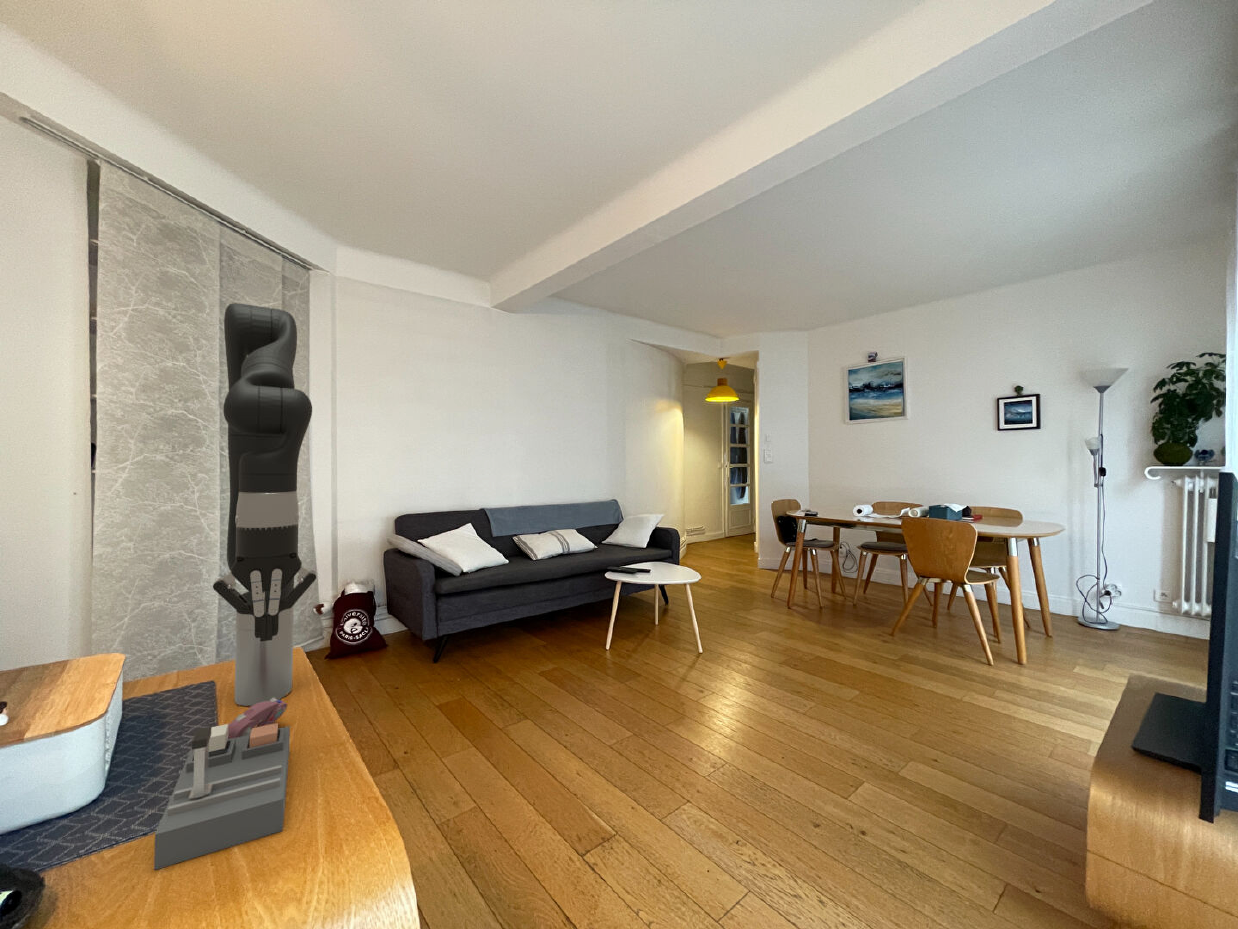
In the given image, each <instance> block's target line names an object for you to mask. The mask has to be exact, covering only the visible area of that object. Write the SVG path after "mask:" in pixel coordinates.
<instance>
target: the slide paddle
mask: <svg viewBox="0 0 1238 929" xmlns="http://www.w3.org/2000/svg"><path fill="white" fill-rule="evenodd" d="M211 727H212V726H208V727H205V728H204V727H203V728H198V729H196V732H195V733H194V736H193V739H192V741H191V748H192V750H194V788H192V790H191V793H190V796H189V801H192V800H196V799H200V798H204V797H208V796H211V794H212V791H213V783H212V784H208V772H209V739H210V737H211Z"/></svg>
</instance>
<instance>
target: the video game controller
mask: <svg viewBox="0 0 1238 929" xmlns="http://www.w3.org/2000/svg"><path fill="white" fill-rule="evenodd" d="M287 707H288V704H287V703H286V702H284V701H283V700H281V699H278V700H276V699H275V698H274V697H273V698H272V699H271V700H270V701H264V702H259V703H257V704H254V705H251V706H250V707H249V708H248V709H247V710H245V711H244V712H243V713H241V714H239V715H237V717H235V718H234V719H233V720H232V721H231V722H230V723H228V739H232V738H238V737H242V736H246V735H250V734H251V731H252V728H256V727H261V726H265V725H270V724H275V722H276V721H277V720H278V719H279V718H280V717H281V716H282V715H284V713H285V712H286V710H287Z"/></svg>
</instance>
